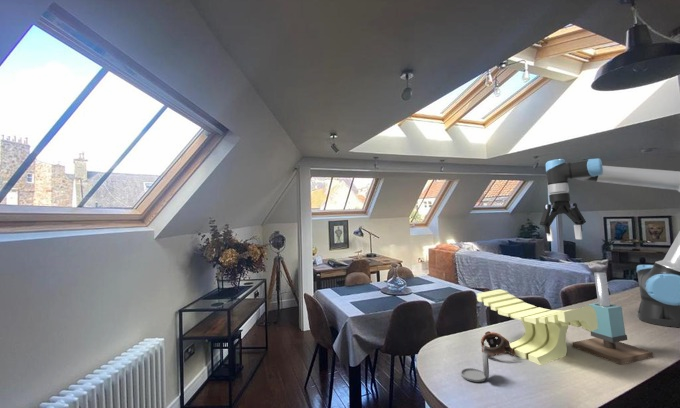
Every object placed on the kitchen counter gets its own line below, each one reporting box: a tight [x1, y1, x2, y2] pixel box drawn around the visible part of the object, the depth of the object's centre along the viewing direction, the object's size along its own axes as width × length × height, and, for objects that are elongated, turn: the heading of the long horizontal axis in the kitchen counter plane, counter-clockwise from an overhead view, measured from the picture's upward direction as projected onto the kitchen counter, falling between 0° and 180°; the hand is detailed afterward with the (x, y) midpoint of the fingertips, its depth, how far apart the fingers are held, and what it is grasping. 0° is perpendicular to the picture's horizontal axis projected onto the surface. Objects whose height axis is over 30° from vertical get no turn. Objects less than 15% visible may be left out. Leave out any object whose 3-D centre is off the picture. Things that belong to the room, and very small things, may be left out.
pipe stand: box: [571, 271, 654, 365], centre depth 95 cm, size 14×14×26 cm
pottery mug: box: [480, 331, 515, 357], centre depth 97 cm, size 12×10×8 cm
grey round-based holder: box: [460, 343, 490, 383], centre depth 83 cm, size 8×8×10 cm
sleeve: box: [587, 302, 627, 338], centre depth 95 cm, size 6×6×9 cm
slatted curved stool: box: [476, 289, 598, 366], centre depth 98 cm, size 30×16×18 cm, turn 24°
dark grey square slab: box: [590, 331, 628, 343], centre depth 95 cm, size 6×6×2 cm
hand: (564, 240), depth 128 cm, fingers open, 13 cm apart
